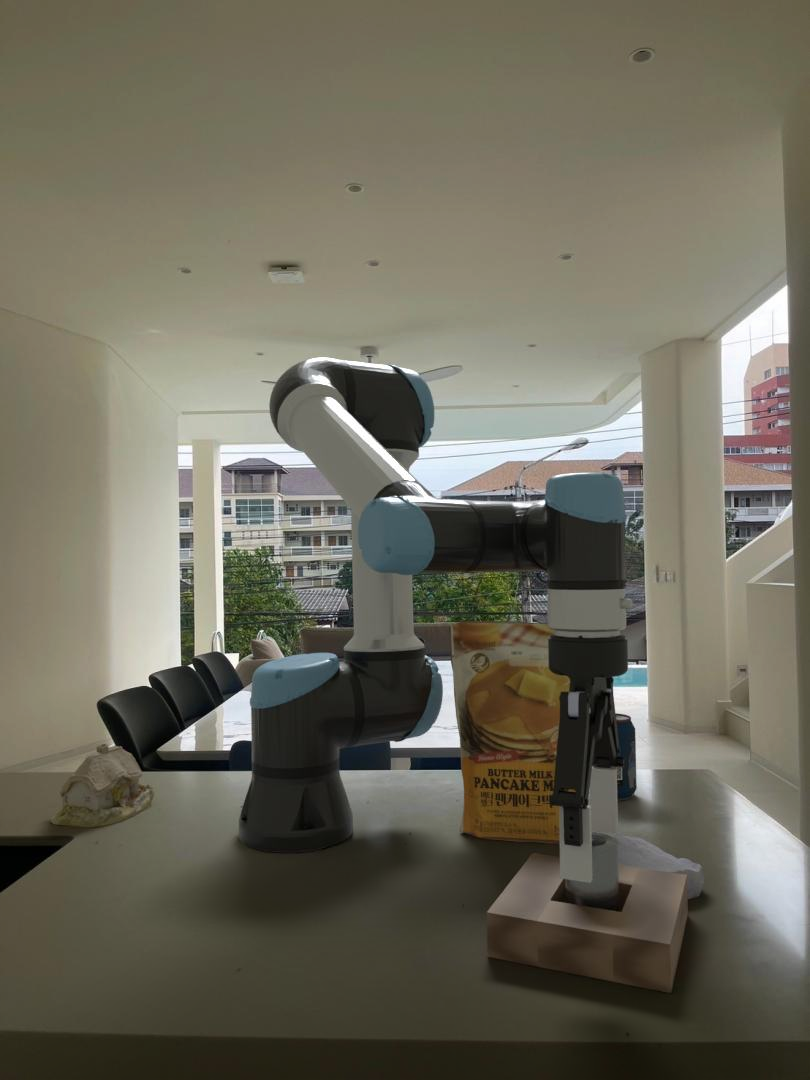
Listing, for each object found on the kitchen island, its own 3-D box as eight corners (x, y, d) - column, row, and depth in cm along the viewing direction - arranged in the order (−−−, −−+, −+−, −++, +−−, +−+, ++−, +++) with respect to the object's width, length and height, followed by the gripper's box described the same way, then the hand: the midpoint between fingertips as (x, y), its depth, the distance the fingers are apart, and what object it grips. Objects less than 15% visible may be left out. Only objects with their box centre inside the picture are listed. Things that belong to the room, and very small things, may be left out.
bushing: (560, 941, 76) (559, 844, 76) (572, 919, 80) (571, 827, 81) (614, 951, 74) (612, 851, 74) (623, 928, 78) (621, 834, 79)
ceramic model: (96, 833, 109) (96, 759, 109) (36, 823, 113) (36, 752, 113) (166, 804, 121) (166, 737, 122) (110, 796, 126) (110, 732, 126)
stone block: (639, 874, 97) (573, 871, 93) (646, 834, 97) (580, 829, 93) (715, 917, 86) (645, 916, 82) (722, 871, 86) (652, 868, 82)
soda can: (588, 788, 126) (586, 711, 127) (633, 789, 125) (631, 712, 126) (592, 801, 119) (590, 720, 120) (640, 802, 119) (638, 721, 119)
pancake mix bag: (454, 821, 111) (452, 619, 112) (596, 829, 107) (592, 619, 108) (447, 838, 104) (444, 623, 105) (597, 847, 100) (593, 623, 101)
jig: (487, 956, 73) (486, 912, 73) (533, 890, 88) (532, 853, 88) (671, 993, 67) (670, 944, 67) (687, 914, 81) (687, 874, 81)
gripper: (602, 647, 65) (607, 912, 64) (644, 623, 88) (648, 819, 87) (513, 644, 68) (517, 897, 67) (576, 622, 91) (579, 811, 90)
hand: (591, 853), depth 77 cm, fingers open, 13 cm apart
